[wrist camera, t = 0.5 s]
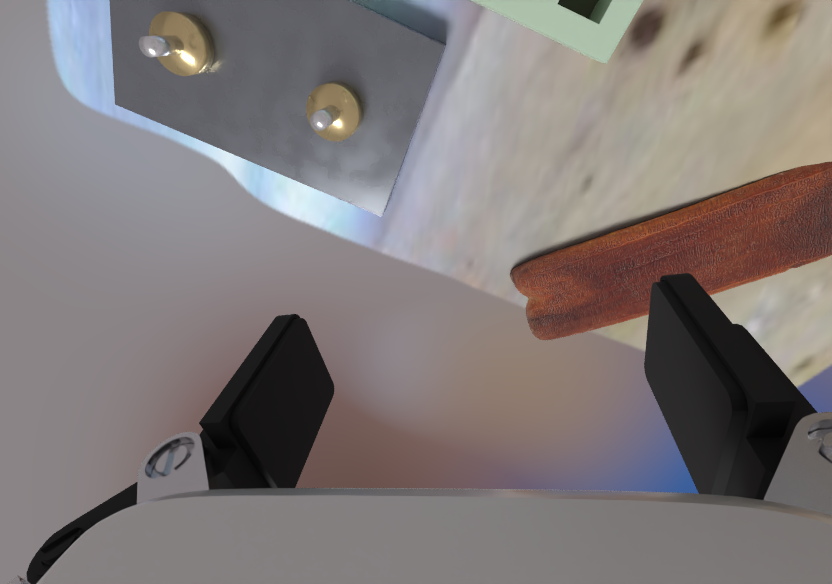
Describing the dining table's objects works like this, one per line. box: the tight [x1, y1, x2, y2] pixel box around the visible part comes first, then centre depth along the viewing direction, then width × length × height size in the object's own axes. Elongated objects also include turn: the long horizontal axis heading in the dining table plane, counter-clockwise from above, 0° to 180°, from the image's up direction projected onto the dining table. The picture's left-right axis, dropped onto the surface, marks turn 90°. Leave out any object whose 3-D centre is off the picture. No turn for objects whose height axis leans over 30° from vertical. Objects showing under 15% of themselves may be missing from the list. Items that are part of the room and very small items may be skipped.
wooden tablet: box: [510, 162, 832, 340], centre depth 36 cm, size 27×10×2 cm, turn 117°
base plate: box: [110, 0, 446, 217], centre depth 30 cm, size 14×24×6 cm, turn 69°
